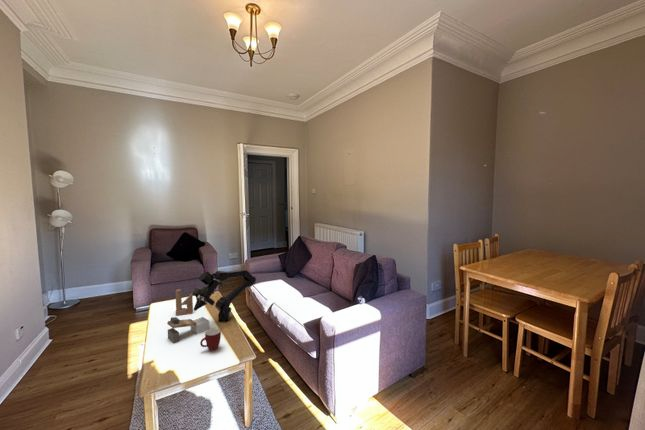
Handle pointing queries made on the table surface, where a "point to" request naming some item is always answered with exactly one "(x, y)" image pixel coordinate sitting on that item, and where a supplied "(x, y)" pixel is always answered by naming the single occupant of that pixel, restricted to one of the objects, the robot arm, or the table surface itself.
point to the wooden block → (179, 304)
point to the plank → (180, 322)
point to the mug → (212, 339)
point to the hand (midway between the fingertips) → (194, 310)
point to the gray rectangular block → (200, 327)
